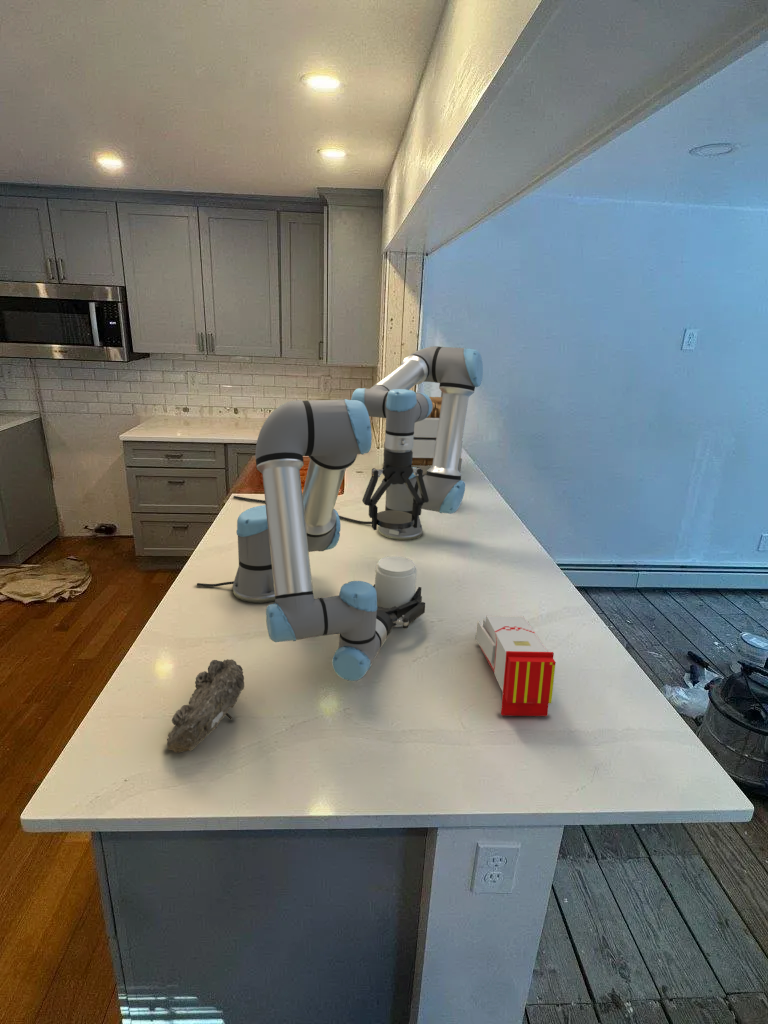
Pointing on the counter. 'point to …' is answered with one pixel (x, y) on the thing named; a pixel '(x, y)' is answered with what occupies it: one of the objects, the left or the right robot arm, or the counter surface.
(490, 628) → the toy
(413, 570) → the jar
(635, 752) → the counter surface
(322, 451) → the left robot arm
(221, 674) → the fossil
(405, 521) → the lid
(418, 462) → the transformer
